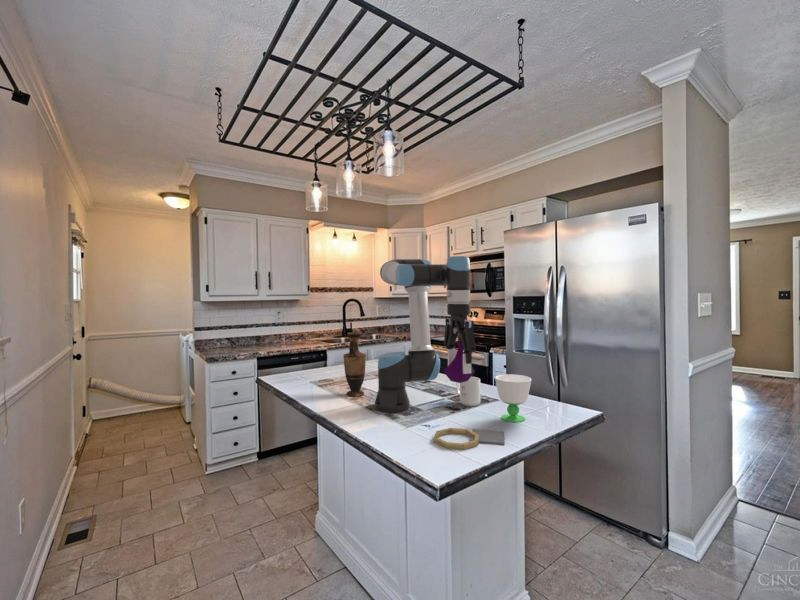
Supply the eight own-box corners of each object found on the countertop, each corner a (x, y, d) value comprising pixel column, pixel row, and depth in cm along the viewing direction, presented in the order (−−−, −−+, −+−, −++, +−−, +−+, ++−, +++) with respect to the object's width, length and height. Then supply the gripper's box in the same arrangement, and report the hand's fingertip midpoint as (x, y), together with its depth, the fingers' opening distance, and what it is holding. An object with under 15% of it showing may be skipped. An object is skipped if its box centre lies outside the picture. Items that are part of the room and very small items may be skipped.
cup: (488, 419, 153) (488, 378, 152) (504, 410, 163) (504, 372, 163) (523, 427, 144) (522, 383, 143) (537, 417, 154) (537, 377, 154)
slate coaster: (470, 442, 130) (470, 440, 130) (472, 430, 141) (472, 428, 141) (504, 444, 128) (504, 443, 128) (504, 432, 138) (504, 431, 138)
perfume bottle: (457, 377, 137) (457, 325, 136) (475, 380, 131) (474, 327, 131) (443, 380, 132) (442, 327, 131) (460, 384, 126) (460, 328, 126)
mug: (484, 404, 173) (484, 378, 173) (471, 408, 167) (471, 382, 167) (463, 398, 182) (463, 374, 182) (450, 402, 176) (450, 377, 176)
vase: (350, 391, 198) (349, 331, 197) (370, 392, 194) (369, 332, 193) (340, 396, 188) (338, 333, 187) (360, 398, 184) (359, 334, 183)
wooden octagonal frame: (431, 446, 127) (431, 442, 127) (438, 431, 141) (438, 426, 141) (477, 450, 123) (477, 446, 123) (479, 434, 137) (479, 430, 137)
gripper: (433, 302, 139) (433, 365, 140) (466, 304, 119) (467, 378, 120) (451, 302, 142) (452, 364, 143) (487, 303, 122) (488, 375, 123)
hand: (459, 370), depth 132 cm, fingers closed on perfume bottle, 9 cm apart
